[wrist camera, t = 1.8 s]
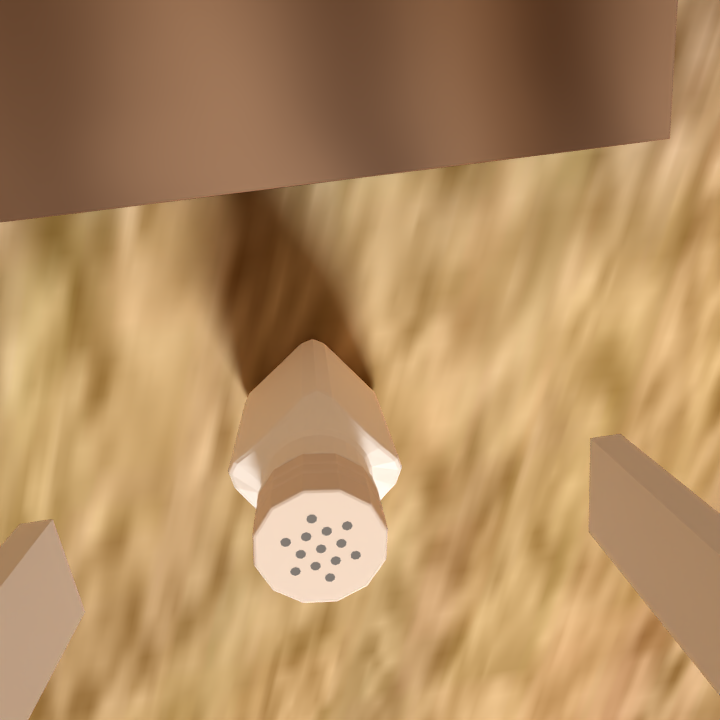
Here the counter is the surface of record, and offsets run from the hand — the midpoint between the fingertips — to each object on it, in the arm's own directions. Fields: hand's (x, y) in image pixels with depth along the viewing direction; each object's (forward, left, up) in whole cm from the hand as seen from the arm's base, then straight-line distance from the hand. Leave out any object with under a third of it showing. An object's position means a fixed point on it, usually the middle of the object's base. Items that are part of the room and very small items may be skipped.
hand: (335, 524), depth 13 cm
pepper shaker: (0, 0, -9) cm, 9 cm away
